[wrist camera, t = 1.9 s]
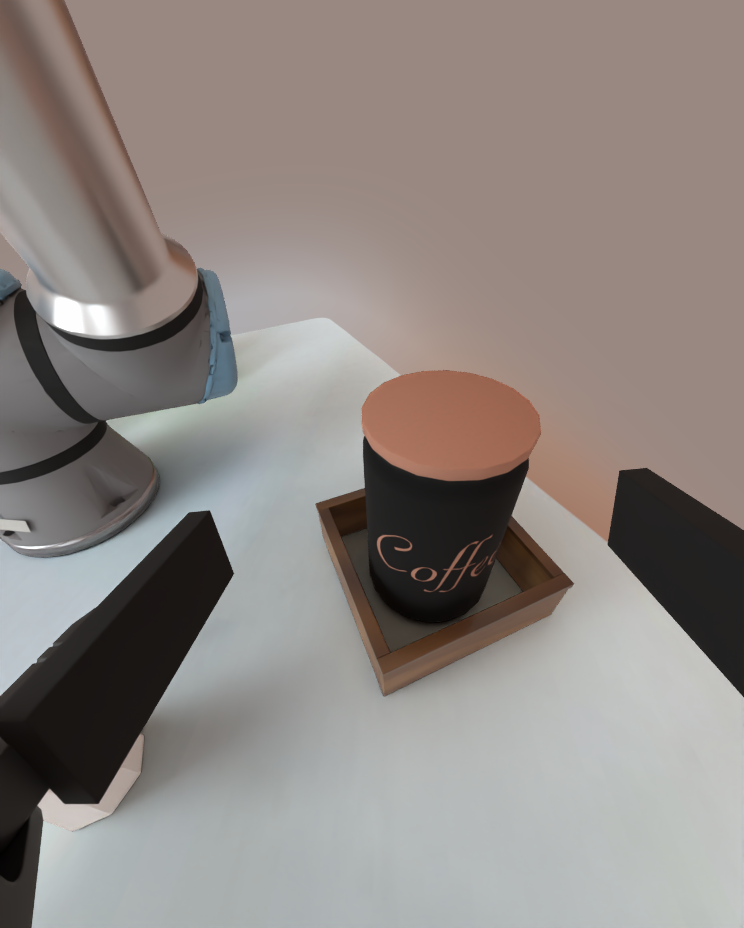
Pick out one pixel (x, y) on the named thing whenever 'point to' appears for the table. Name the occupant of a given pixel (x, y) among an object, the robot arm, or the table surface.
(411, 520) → the coffee jar
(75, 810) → the pepper shaker
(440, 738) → the table surface
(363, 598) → the wooden tray
